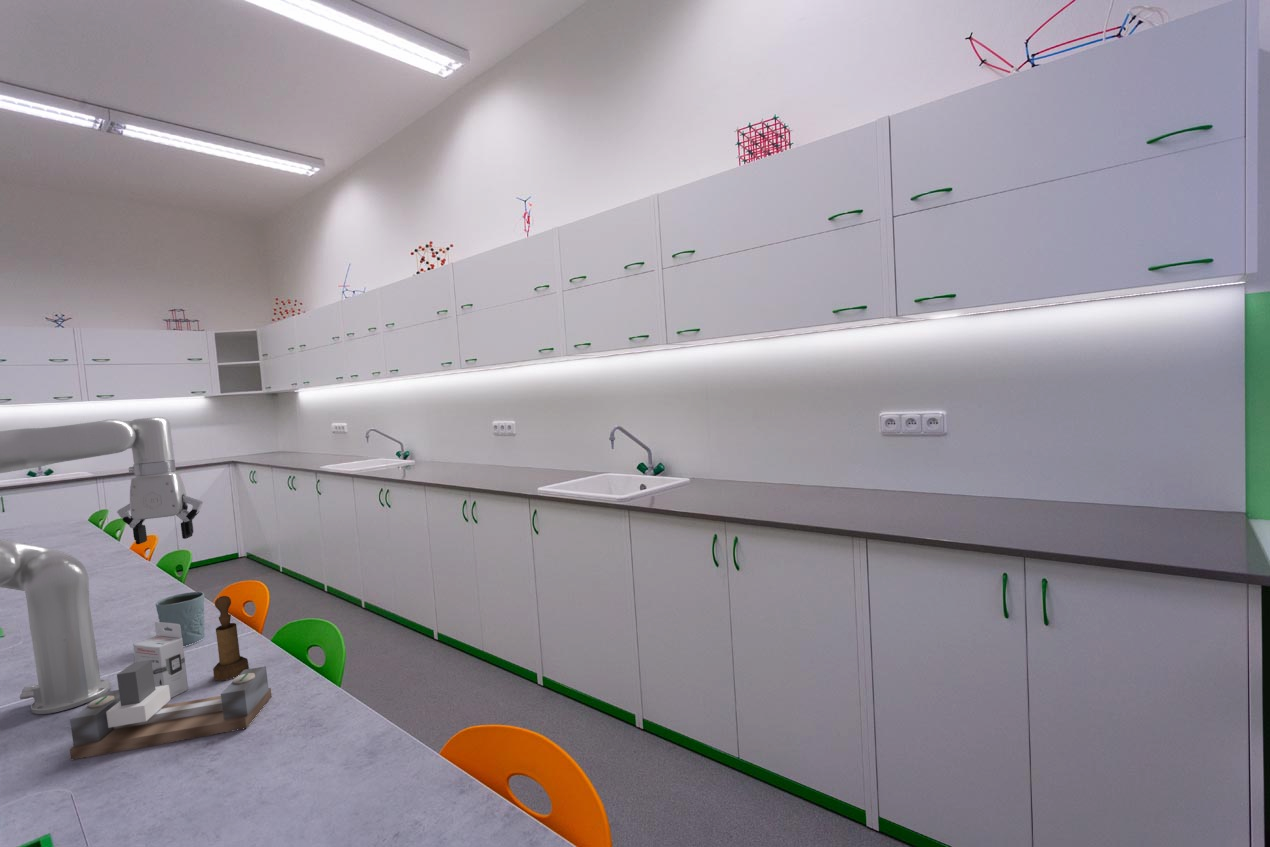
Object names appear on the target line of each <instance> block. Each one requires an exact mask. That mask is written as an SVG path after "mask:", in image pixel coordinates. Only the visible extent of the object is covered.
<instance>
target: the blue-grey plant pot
mask: <svg viewBox="0 0 1270 847" xmlns="http://www.w3.org/2000/svg"><path fill="white" fill-rule="evenodd" d="M155 608H156V613H157V618H158V622H163V623H173V624H179V625H180V627H181V635H182V640H183V646H186V645H189V644H192V643H195V642H197V641H199V640H201V639H203V638H204V639H205V613H204V612H205V593H204V592H202V591H191V592H185V593H184V592H183V593H179V594H175V595H171V596H168V597H165V598H162V599H160V600H158V601H156V602H155ZM164 630H165V631H172V629H171V628H168V627H167V628H164ZM204 639H203V640H204ZM201 641H202V640H201Z"/></svg>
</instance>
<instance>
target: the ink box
mask: <svg viewBox="0 0 1270 847" xmlns="http://www.w3.org/2000/svg"><path fill="white" fill-rule="evenodd" d="M167 627H168V628H171V629H172V631H165V630H164V628H167ZM154 629H155V633H156V635H154V636H151V637H149V638H146V639H144V640H141V641H137V642H136V643H133V645H132V646H133V654H134V660H135V662H141V661H147V660H152V667H153V675H154V682H155V687H158V686H164V685H169V691H170V699H172V698H174V697H177V696H178V695H180V694H182V693H185V692H186V690H187V691H188V690H189V683H188V675H187V666H186V665H187V664H186V658H185V657H186V656H185V650H184V648H185V647H183V640H182V635H181V627H180V625H179V624H173V623H163V622H159V621H156V622H154ZM184 691H185V692H184Z"/></svg>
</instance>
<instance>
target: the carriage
mask: <svg viewBox="0 0 1270 847" xmlns="http://www.w3.org/2000/svg"><path fill="white" fill-rule="evenodd" d="M116 680H117V684H118V685H117V688H118V690H119V694H120V701H119V702H118V703H117V704H116V705H114V706H113V707H112V708H110V709H109V710H108V711H107V712H106V714H107V721H108V728H110V727H116V726H122V725H127V724H133V723H139V722H145V721H147V720H148V719H149V718H150V717H152V716H153V715H154V714H155V713H156V712H157V711H158V710H159V709H161V708H162V707H163V706H164V705H167V704H168V702H170V701H171V699H172V698H170V691H169V685H164V686H158V687H155V682H154V675H153V667H152V660H147V661H141V662H133V663H131V664H130V665H128V666H127V667H126V668H125V667H124V669H122V670H121V671H119V672H118V673H117V674H116Z"/></svg>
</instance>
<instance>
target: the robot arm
mask: <svg viewBox="0 0 1270 847" xmlns="http://www.w3.org/2000/svg"><path fill="white" fill-rule="evenodd" d="M172 437H173V436H172V431H171V423H170V420H169V419H168V418H165V417H161V416H158V417H143V418H136V419H132V420H120V419H116V418H115V419H102V420H98V421H91V422H83V423H77V424H76V423H75V424H67V425H58V426H51V427H36V428H35V427H32V428H30V427H28V428H17V429H10V430H2V431H0V474H4V473H11V472H17V471H23V470H29V469H30V470H31V469H37V468H41V467H45V466H48V465H49V466H50V465H54V464H58V463H64V462H65V463H66V462H71V461H78V460H83V459H84V460H85V459H88V458H95V457H101V456H108V455H113V454H118V453H122V452H125V451H127V450H130V449H131V452H132V459H133V466H129V467H128V472H129V473H133V474H134V476H135V477H132V478H131V480H130V486H129V488H130V489H129V503H128V504H126V505H125V506H123V507H121V508H120V509H118V510H116V512H117V514H118V515H119V517H120V518H121V519H122V521H123V522H124V523H125V524H126V525H128V526H129V528H131V529H132V532H133V539H134V541H135V544H136V545H141V544H144V543H145V542H147V541H148V536H147V526H146V525H145V524H143V523H144V522H145V521H146V520H148V519H149V520H151V519H158V518H168V517H174V516H176V517H177V518H179V519H180V520H181V521H182V522H180V531H181V536H182V537H181V538H182V539H183V540H184V539H188V538H191V537H193V535H194V525H193V520H194V519H195V517H196V516H197V515H198V514H199V513H200V510H201V508H202V506H203V501H202V500H199V499H197V498H194V497H190V496H187V492H186V488H185V485H184V482H183V479H182V477H181V474H180V472H177V469H176V461H175V454H174V452H175V451H174V447H173V445H174V444H173V439H172ZM189 505H191V506H192V509H191V510H190V511H188V510H189ZM0 588H3V589H10V590H15V591H20V592H21V591H22V592H24V593H25V599H26V606H27V616H28V623H29V630H30V637H31V642H32V650H33V656H34V663H35V670H36V677H37V683H38V684H32V685H26V686H24V687H23V688H22V689H21V693H20V695H19V700H27V699H30V698H31V699H32V698H33V700H34V702H32V704H31V705H30V709H31V713H33V714H36V715H47V714H53V713H58V712H62V711H67V710H70V709H74V708H76V707H79V706H82V705H85V704H88V703H90V702H92V701H94V700H96V699H98V698H99V697H101V696H102V695H103V694H105V693H106V692H108V691H109V690H110V691H111V688H112V684H111V681H110V680H108V679H101V674H100V673H101V672H100V666H99V665H100V664H99V659H98V658H99V657H98V652H97V651H98V650H97V644H96V639H95V630H94V623H93V617H92V616H93V615H92V609H91V600H90V579H89V575H88V570H87V569H86V567H85V565H84V564H83V563H82V562H81V561H80V560H79V559H77V558H76V557H74V556H72V555H71V554H69V553H68V552H64V551H60V550H56V549H53V548H47V547H41V546H36V545H33V544H28V543H27V544H26V543H22V542H19V541H18V542H17V541H14V540H13V541H12V540H8V539H2V538H0Z"/></svg>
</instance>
